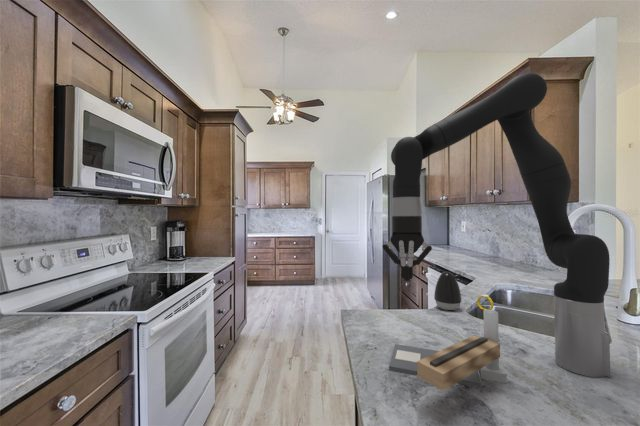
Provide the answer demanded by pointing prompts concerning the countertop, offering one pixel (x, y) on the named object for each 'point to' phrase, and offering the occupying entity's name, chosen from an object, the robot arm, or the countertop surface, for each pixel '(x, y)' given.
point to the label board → (408, 356)
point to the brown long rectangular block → (457, 361)
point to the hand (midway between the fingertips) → (407, 280)
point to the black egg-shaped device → (447, 291)
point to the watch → (488, 299)
